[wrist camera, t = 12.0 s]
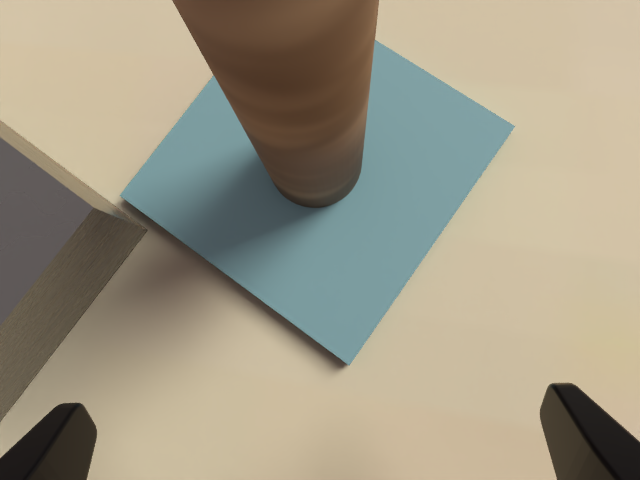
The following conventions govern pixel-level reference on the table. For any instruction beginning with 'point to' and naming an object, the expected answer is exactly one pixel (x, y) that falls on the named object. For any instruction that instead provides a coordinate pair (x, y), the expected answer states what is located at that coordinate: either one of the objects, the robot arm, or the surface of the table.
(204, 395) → the table surface
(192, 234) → the blue square plate
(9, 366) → the block
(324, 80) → the brown wooden pin
